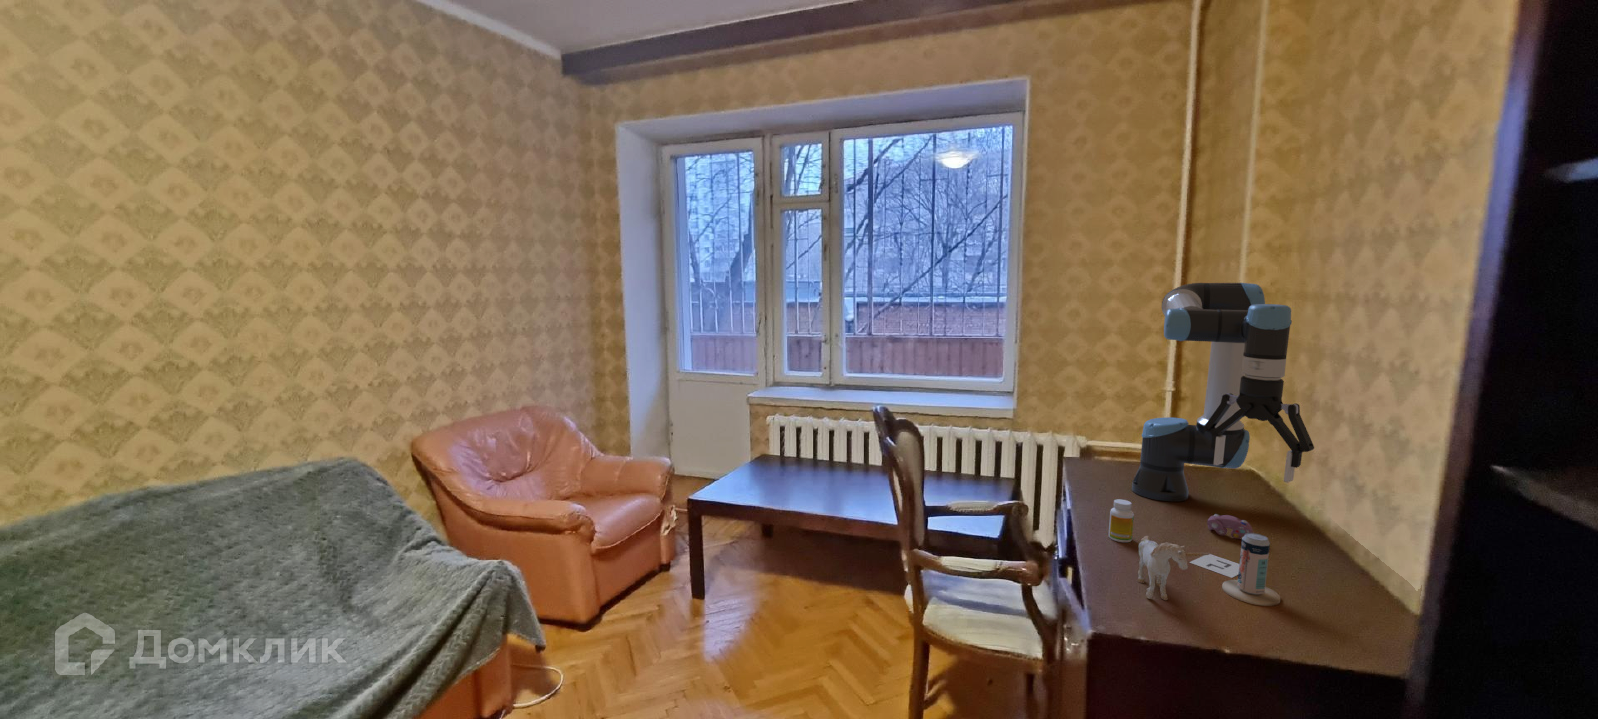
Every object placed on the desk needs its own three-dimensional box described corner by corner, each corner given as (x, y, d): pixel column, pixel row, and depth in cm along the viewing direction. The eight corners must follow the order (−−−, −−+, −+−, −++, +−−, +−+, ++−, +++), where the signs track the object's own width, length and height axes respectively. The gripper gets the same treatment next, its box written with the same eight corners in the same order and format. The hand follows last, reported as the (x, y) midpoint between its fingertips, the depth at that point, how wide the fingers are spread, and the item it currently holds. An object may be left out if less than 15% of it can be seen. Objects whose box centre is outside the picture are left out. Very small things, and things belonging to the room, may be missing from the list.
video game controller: (1205, 537, 168) (1205, 517, 165) (1209, 525, 170) (1209, 506, 167) (1251, 548, 161) (1252, 528, 158) (1254, 535, 164) (1255, 515, 161)
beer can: (1240, 583, 138) (1245, 530, 137) (1266, 591, 135) (1272, 536, 133) (1234, 590, 135) (1240, 536, 133) (1261, 598, 131) (1267, 543, 130)
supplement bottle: (1134, 543, 160) (1137, 506, 158) (1111, 542, 161) (1114, 504, 159) (1128, 535, 165) (1131, 499, 164) (1105, 533, 166) (1108, 497, 165)
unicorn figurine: (1167, 619, 125) (1173, 553, 123) (1115, 573, 144) (1119, 516, 142) (1203, 618, 125) (1210, 553, 123) (1146, 572, 144) (1151, 515, 142)
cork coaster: (1235, 578, 142) (1235, 575, 142) (1288, 597, 133) (1289, 594, 133) (1213, 590, 136) (1213, 587, 136) (1267, 610, 128) (1267, 608, 128)
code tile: (1208, 553, 154) (1208, 553, 154) (1250, 568, 147) (1250, 567, 147) (1189, 562, 149) (1189, 562, 149) (1231, 577, 142) (1231, 577, 142)
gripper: (1192, 370, 145) (1183, 460, 149) (1326, 388, 125) (1313, 492, 128) (1208, 367, 149) (1200, 454, 153) (1341, 384, 129) (1328, 485, 132)
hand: (1251, 472), depth 140 cm, fingers open, 13 cm apart
